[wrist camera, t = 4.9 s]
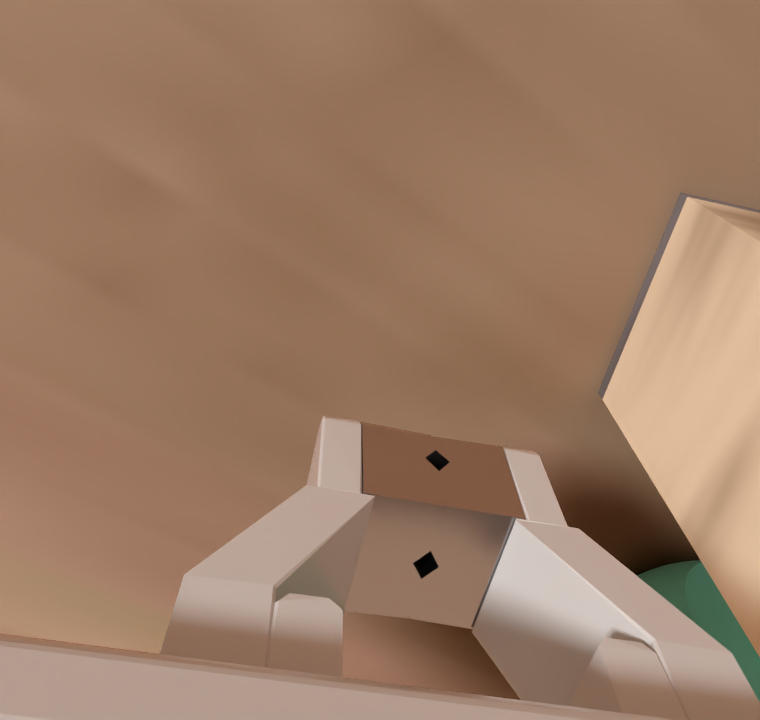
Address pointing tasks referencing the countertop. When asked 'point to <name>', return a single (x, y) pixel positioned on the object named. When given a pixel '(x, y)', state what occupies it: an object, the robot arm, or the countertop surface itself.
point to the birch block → (700, 390)
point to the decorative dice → (706, 610)
